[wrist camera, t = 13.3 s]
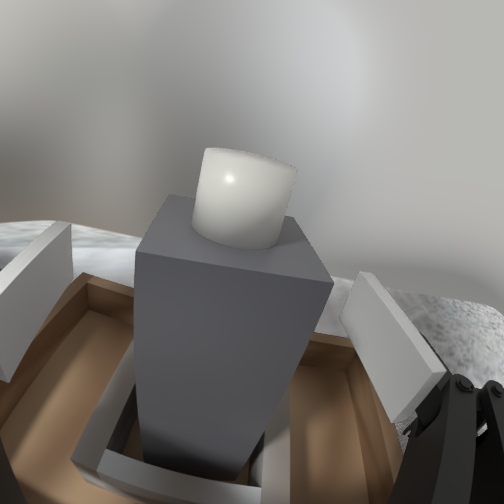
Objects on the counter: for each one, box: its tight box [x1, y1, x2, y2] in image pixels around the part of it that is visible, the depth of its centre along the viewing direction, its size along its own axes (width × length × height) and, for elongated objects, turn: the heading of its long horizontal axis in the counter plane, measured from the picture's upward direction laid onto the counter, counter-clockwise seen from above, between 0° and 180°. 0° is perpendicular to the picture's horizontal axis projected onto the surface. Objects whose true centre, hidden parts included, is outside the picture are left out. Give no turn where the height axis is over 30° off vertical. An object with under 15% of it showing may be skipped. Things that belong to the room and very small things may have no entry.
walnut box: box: [0, 272, 403, 504], centre depth 13 cm, size 22×18×4 cm
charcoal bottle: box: [134, 148, 334, 481], centre depth 10 cm, size 4×4×14 cm
